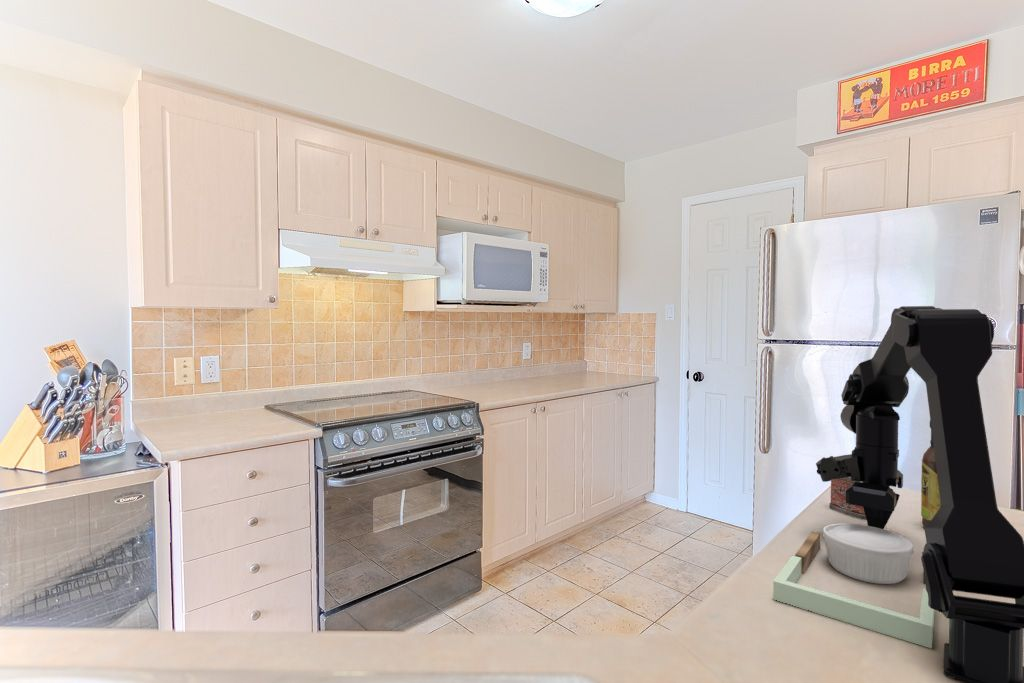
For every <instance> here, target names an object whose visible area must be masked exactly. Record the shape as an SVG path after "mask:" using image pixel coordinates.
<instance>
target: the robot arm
mask: <svg viewBox="0 0 1024 683" xmlns="http://www.w3.org/2000/svg"><path fill="white" fill-rule="evenodd" d="M994 336H995V328H994V324H993V321H992V320H991V319H990V318H989V317H988V315H987V314H986V313H982V312H981V311H980V310H979V309H975V308H966V309H965V308H963V309H962V308H961V309H960V308H959V309H957V308H952V309H951V308H949V309H948V308H947V309H943V308H941V307H935V306H933V305H920V306H919V305H913V306H910V305H909V306H906V305H905V306H899V308H898V307H896V308H894V309H893V310H892V313H891V316H890V325H889V327H888V329H887V331H886V332H885V335H884V336H883V338H882V339H881V342H880V344H879V345H878V347H877V349H876V350H875V353H874V354H873V356H872V358H869V359H866V360H864V361H861V362H859V363H858V365H857V366H856V367H855V368H854V369H853V371H852V373H850V374H849V376H848V380H846V381H845V385H844V387H843V390H842V392H841V395H840V396H841V400H842V402H843V405H845V406H844V407H843V408H842V409H841V413H840V421H841V423H842V426H844V428H846V429H847V430H848V431H850V432H852V433H853V434H855V446H854V449H852V451H851V453H850V454H843V455H839V456H838V455H837V456H833V455H831V456H828V457H825V456H824V457H822V458H821V459H819V460H818V461H817V462H816V463H815V466H816V468H817V469H816V474H817V475H819V476H820V479H821V482H823V483H825V482H827V483H828V482H831V480H832V479H839V478H845V477H850V476H851V481H857V482H854V483H853V484H851V485H850V486H849V487H848V488H847V490H846V499H845V502H846V503H848V504H852V505H857V506H863V509H864V512H865V516H866V519H867V520H866V523H867V526H871V527H876V528H880V529H884V530H885V527H886V525H887V524H888V522H889V520H890V518H891V517H892V514H893V513H894V512H895V509H896V508H897V504H898V503H899V502H898V501H899V498H900V494H899V493H896V492H895V491H894V489H893V488H891V487H895V488H898V489H903V486H904V474H903V473H902V471H900V470H899V468H898V460H899V457H900V449H899V421H900V420H901V417H900V415H899V412H897V411H896V410H895V409H894V408H900V406H901V404H902V403H903V402H904V400H905V399H906V398H907V396H908V394H909V390H910V389H909V388H910V383H909V379H908V377H907V374H908V373H909V372H910V370H911V369H912V370H913V371H914V372H915V374H917V375H918V376H919V378H920V379H921V380H922V381H923V382H924V384H925V388H926V394H927V396H926V397H927V402H928V410H929V411H928V412H929V422H930V421H931V428H930V430H931V429H932V437H933V445H934V453H935V461H936V469H937V477H938V485H939V493H940V502H941V506H940V508H939V510H938V511H937V513H936V514H935V516H934V517H933V519H932V520H928V521H927V522H926V524H925V526H923V529H924V535H925V536H924V537H925V541H926V542H925V545H924V546H923V551H922V553H921V556H920V559H921V564H922V569H923V571H924V575H925V584H924V585H925V589H926V591H927V593H928V606H929V607H930V608H932V609H934V610H935V611H937V612H939V613H941V614H942V615H943V616H944V617H945V618H946V619H948V621H949V622H948V625H949V626H948V627H949V628H948V629H949V630H948V642H947V643H946V642H945V643H944V644H943V671H942V672H943V674H944V675H945V676H948V677H950V678H953V679H956V680H959V681H963V682H965V683H1024V538H1023V536H1022V535H1021V534H1020V533H1019V532H1018V530H1017V529H1016V528H1015V526H1013V525H1012V524H1011V522H1010V521H1009V520H1008V519H1007V518H1006V516H1004V514H1002V512H1001V510H999V508H998V507H999V506H998V504H997V497H996V490H995V485H994V477H993V471H992V470H993V469H992V465H991V458H990V451H989V445H988V439H987V437H988V436H987V431H986V426H985V419H984V412H983V407H982V400H981V398H982V397H981V393H980V387H979V386H980V385H979V375H980V374H981V372H982V371H983V369H984V368H985V366H986V364H987V363H988V362H989V360H990V359H991V357H992V356H993V341H994ZM954 592H961V593H968V594H976V595H981V596H982V595H983V596H990V597H997V598H998V597H999V598H1004V599H1005V598H1006V599H1012V600H1014V602H1015V603H1013V602H1006V601H997V600H993V599H992V600H990V599H985V598H977V597H969V596H961V595H954Z"/></svg>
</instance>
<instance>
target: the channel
mask: <svg viewBox="0 0 1024 683" xmlns="http://www.w3.org/2000/svg"><path fill="white" fill-rule="evenodd" d="M820 549H821V532H818V531H811V532H810V533H809V535H808V536H807V538H806V539H805V540H804V542H803V543H802V545H801V546H800V547H799V549H798V550H797V552H796V553H795V554H794V556H797V557H801V558H802V560H801V574H802V575H805V573H806V571H807V570H808V568H809V567H810V565H811V564H812V561H813V560H814V559H815V557H816V556H817V554H818V553H819V551H820ZM922 579H923V580H922V583H923V584H924V585H926V584H925V575H924V570H923V576H922Z"/></svg>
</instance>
